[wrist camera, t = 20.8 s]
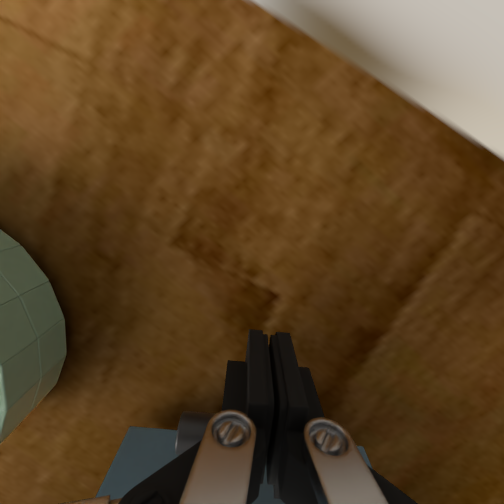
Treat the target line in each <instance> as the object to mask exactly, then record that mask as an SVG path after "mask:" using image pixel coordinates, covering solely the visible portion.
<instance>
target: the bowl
mask: <svg viewBox="0 0 504 504" xmlns="http://www.w3.org/2000/svg"><path fill="white" fill-rule="evenodd" d="M66 353H67V348H66V329H65V318H64V315H63V313H62V310H61V308H60V305H59V303H58V300H57V298H56V295H55V293H54V291H53V288H52V286H51V283H50V282H49V279H48V278H47V277H46V275H45V274H44V273H43V272H42V270H41V269H40V268H39V266H38V265H37V264H36V263H35V261H34V260H33V259H32V258H31V256H30V255H29V254H28V253H27V251H26V250H25V249H24V248H23V246H20V244H19V243H18V242H17V241H15V240H14V239H13V238H11V237H10V236H9V235H7V234H6V233H5V232H3V231H2V230H1V229H0V446H1V445H2V443H3V442H4V441H5V440H6V439H7V438H8V437H9V436H10V435H11V434H12V433H13V432H14V431H15V430H16V428H17V427H18V426H19V425H20V424H21V423H22V422H23V421H24V420H25V419H26V418H27V417H28V416H29V415H30V413H31V412H32V411H33V410H34V409H35V408H36V407H37V406H38V405H39V404H40V403H41V401H42V400H43V399H44V398H45V397H46V396H47V395H48V393H49V392H50V391H51V390H52V389H53V388H54V387H55V385H56V384H57V381H58V378H59V375H60V372H61V369H62V366H63V363H64V360H65V357H66Z"/></svg>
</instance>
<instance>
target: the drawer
mask: <svg viewBox="0 0 504 504" xmlns="http://www.w3.org/2000/svg"><path fill="white" fill-rule="evenodd" d="M215 414H216V413H204V412H193V411H183V413H182V414H181V417H180V421H179V425H178V429H177V430H168V429H157V428H145V427H134V426H130V427H129V429H128V431H127V433H126V435H125V437H124V439H123V441H122V444H121V446H120V448H119V450H118V452H117V454H116V456H115V458H114V460H113V462H112V464H111V466H110V468H109V470H108V472H107V475H106V477H105V479H104V481H103V483H102V485H101V487H100V489H99V491H98V493H97V495H96V497H101V496H107V495H110V500H113V499H119V498H123V496H124V495H125V494H126V493H127V492H129V491H130V490H131V489H132V488H133V487H135V486H136V485H137V484H139V483H140V482H142V481H143V480H145V479H146V478H148V477H149V476H150V475H152V474H153V473H155V472H156V471H158V470H159V469H160V468H162V467H163V466H165V465H166V464H168V463H169V462H171V461H172V460H173V459H175V458H176V457H178V456H179V455H181V454H182V453H183V452H185V451H186V450H188V449H189V448H191V447H192V446H194V445H195V444H196V443H198V442H199V441H201V440H202V438H203V435H204V432H205V429H206V427H207V424H208V422H209V420H210V419H211V418H212V417H213V416H214V415H215ZM357 448H358V449H359V451H360V453H361V455H362V457H363V458H364V460H365V462H366V464H367V465H368V466H369V467H371V468H372V466H371V464H370V462H369V459H368V457H367V455H366V452H365V450H364V447H363V446H357ZM96 497H95V498H96ZM252 504H285V503H284V502H283V501H282V500H281V499H278V498H274V490H273V485H268V484H267V472H266V466H265V473H264V479H263V484H260V490H259V496H258V498H257V499H256V500H255V501H254V502H253V503H252Z"/></svg>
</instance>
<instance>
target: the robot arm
mask: <svg viewBox="0 0 504 504" xmlns="http://www.w3.org/2000/svg"><path fill="white" fill-rule="evenodd" d="M265 466H266V472H267V484H268V485H273V490H274V498H278V499H281V500H282V501H283V502H284V503H285V504H418V503H416V502H415V501H414V500H412V499H411V498H410V497H408V496H407V495H406V494H405V493H403V492H402V491H401V490H399V489H398V488H397V487H395V486H394V485H393V484H391V483H390V482H389V481H388V480H386V479H385V478H384V477H382V476H381V475H380V474H378V473H377V472H376V471H375V470H373V469H372V468H371V467H369V466H368V465H367V464H366V462H365V460H364V458H363V457H362V455H361V453H360V451H359V449H358V448H357V446H356V444H355V442H354V440H353V439H352V437H351V435H350V434H349V432H348V431H347V430H346V429H345V428H344V427H343V426H342V425H341V424H339V423H337V422H335V421H334V420H331V419H328V418H325V417H324V414H323V411H322V408H321V405H320V401H319V398H318V395H317V392H316V389H315V385H314V382H313V379H312V376H311V372H310V370H309V368H307V367H298V363H297V359H296V355H295V352H294V348H293V344H292V340H291V336H290V333H283V332H276V334H275V335H271V337H270V343H269V345H268V336H267V334H263V331H262V330H252V329H249V335H248V343H247V351H246V360H245V362H242V361H231V360H228V363H227V371H226V379H225V388H224V396H223V404H222V411H221V412H218V413H216V414H215V415H214V416H213V417H212V418H211V419H210V420H209V422H208V424H207V427H206V429H205V432H204V435H203V438H202V440H201V441H199V442H198V443H196V444H195V445H194V446H192V447H191V448H189V449H188V450H186V451H185V452H183V453H182V454H181V455H179V456H178V457H176V458H175V459H173V460H172V461H171V462H169V463H168V464H166V465H165V466H163V467H162V468H160V469H159V470H158V471H156V472H155V473H153V474H152V475H150V476H149V477H148V478H146V479H145V480H143V481H142V482H140V483H139V484H137V485H136V486H135V487H133V488H132V489H131V490H130V491H129V492H127V493H126V494H125V495H124V496H123V498H119V499H113V500H110V495H107V496H101V497H96V498H90V499H84V500H78V501H72V502H66V503H60V504H252V503H253V502H254V501H255V500H256V499H257V498H258V496H259V490H260V484H263V479H264V473H265Z"/></svg>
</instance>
